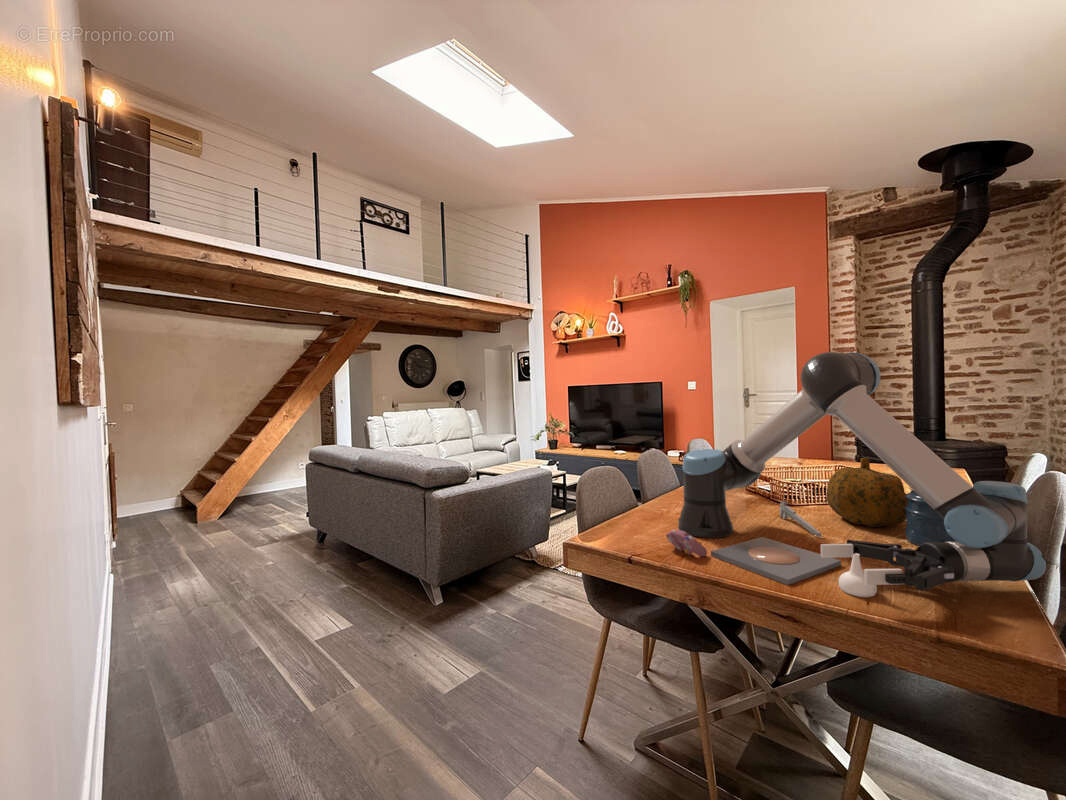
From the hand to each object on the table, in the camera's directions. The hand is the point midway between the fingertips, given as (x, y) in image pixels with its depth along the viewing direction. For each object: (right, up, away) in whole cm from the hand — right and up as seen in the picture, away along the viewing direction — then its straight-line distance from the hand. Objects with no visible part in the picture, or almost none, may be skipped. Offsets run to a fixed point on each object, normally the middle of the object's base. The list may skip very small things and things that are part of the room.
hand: (841, 562), depth 91 cm
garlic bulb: (+3, -6, 0) cm, 7 cm away
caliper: (+17, -5, +42) cm, 45 cm away
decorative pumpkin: (+39, -4, +44) cm, 59 cm away
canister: (+42, -4, +25) cm, 49 cm away
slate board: (-5, -6, +17) cm, 19 cm away
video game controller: (-23, -6, +25) cm, 35 cm away
